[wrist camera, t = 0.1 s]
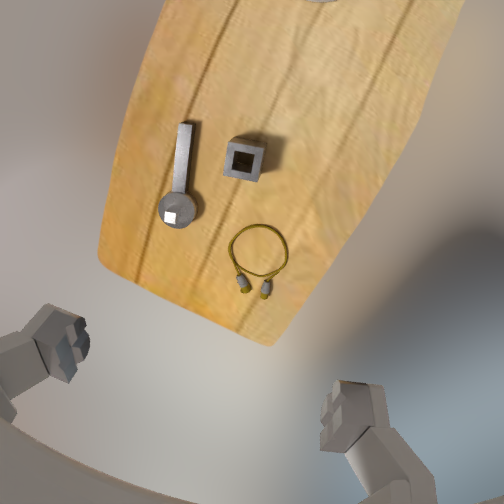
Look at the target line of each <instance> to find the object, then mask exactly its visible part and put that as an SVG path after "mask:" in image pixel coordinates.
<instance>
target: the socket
mask: <svg viewBox="0 0 504 504" xmlns="http://www.w3.org/2000/svg"><path fill="white" fill-rule="evenodd" d="M266 146H267V143H264V142H259V141H254V140H249V139H244V138H238V137H233V138H232V139H231V140H230V141H229V142H228V146H227V153H226V159H225V165H224V172H223V175H224V176H229V177H234V178H239V179H244V180H249V181H253V182H258V180H259V177H260V175H261V171H262V166H263V161H264V156H265V151H266ZM239 151H240V152H245V153H250V154H255V156H254V162H253V165H248V164H243V163H238V162H237V160H238V154H239Z"/></svg>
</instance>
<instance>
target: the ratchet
mask: <svg viewBox="0 0 504 504" xmlns="http://www.w3.org/2000/svg"><path fill="white" fill-rule="evenodd" d="M195 127H196V124H194V123H187V122H181V123H179V127H178V135H177V144H176V154H175V164H174V174H173V186H172V190H171V191H170V192H168V193H167V194H166V195H165V196H164V197H163V198H162V199H161V201H160V203H159V207H158V211H159V215H160V217H161V219H162V220H163V222H164V223H165V224H167V225H168V226H170V227H172V228H176V229H180V228H185V227H187V226H188V225H189V224H190V223H191V222H192V221H193V219H194V218H195V216H196V215H197V212H198V204H197V201H196V199H195V197H194V196H193V195H192V194H191V193H190V192H188V185H189V176H190V167H191V158H192V150H193V142H194V134H195Z"/></svg>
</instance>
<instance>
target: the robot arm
mask: <svg viewBox="0 0 504 504" xmlns="http://www.w3.org/2000/svg"><path fill="white" fill-rule="evenodd" d="M308 1H313V2H331V1H336V0H308ZM86 326H87V325H86V321H85V318H83V317H81V316H78V315H75V314H73V313H70V312H68V311H66V310H63V309H61V308H59V307H56V306H54V305H51V304H49V303H48V304H46V305H44V306H43V307H42V308H41V309H40V310H39V311H38V312H37V313H36V315H35V316H34V317H33V318H32V319H31V320H30V321H29V323H28V324H27V325H26V326H25V327H24V329H22V331H21V332H18V331H16V332H13V333H11V334H8V335H6V336H3V337H1V338H0V504H197V503H193V502H189V501H185V500H181V499H178V498H174V497H171V496H167V495H164V494H161V493H157V492H154V491H151V490H148V489H145V488H142V487H139V486H136V485H133V484H131V483H128V482H125V481H123V480H120V479H118V478H115V477H113V476H110V475H108V474H105V473H103V472H100V471H98V470H96V469H94V468H91V467H89V466H87V465H85V464H83V463H80V462H78V461H76V460H74V459H72V458H70V457H68V456H66V455H64V454H62V453H60V452H58V451H56V450H54V449H53V448H51V447H49V446H47V445H45V444H43V443H42V442H40V441H38V440H36V439H35V438H33V437H31V436H30V435H28V434H26V433H25V432H23V431H21V430H20V429H18V428H17V427H15V426H14V425H12V424H11V423H12V421H13V420H14V418H15V416H16V414H17V410H16V408H15V407H14V405H13V404H12V402H11V401H10V400H11V399H13V398H15V397H16V396H18V395H20V394H21V393H23V392H24V391H26V390H28V389H29V388H31V387H33V386H34V385H36V384H38V383H39V382H41V381H43V380H44V379H46V378H48V377H49V375H50V376H52V377H54V378H57V379H59V380H61V381H63V382H66V383H68V384H69V383H70V381H71V379H72V378H73V376H74V375H75V373H76V372H77V370H78V369H77V363H80V362H82V361H84V359H85V358H86V356H87V354H88V351H89V348H90V338H89V335H88V333H87V332H86V331H85V330H84V329H85V327H86ZM321 423H322V424H323V426H324V429H323V430H322V432H321V433H320V451H327V452H337V453H345V456H346V458H347V459H348V461H349V463H350V465H351V466H352V468H353V470H354V472H355V474H356V475H357V477H358V479H359V480H360V482H361V484H362V485H363V487H364V489H365V491H366V492H367V494H368V496H369V497H368V498H366V499H364V500H363V501H361V502H360V503H358V504H437V496H436V488H435V480H434V476H433V475H432V474H431V473H430V471H429V470H428V469H427V467H426V466H425V465H424V464H423V463H422V461H421V460H420V459H419V458H418V456H417V455H416V454H415V453H414V452H413V450H412V449H411V448H410V447H409V445H408V444H407V443H406V442H405V441H404V439H403V438H402V437H401V436H400V434H399V433H398V432H397V431H396V430H395V428H390V424H389V416H388V410H387V404H386V398H385V392H384V388H383V386H382V385H376V384H366V383H360V382H351V381H343V380H337V381H336V382H335V383H334V384H333V386H332V393H330V394H328V395H327V396H326V398H325V400H324V402H323V405H322V409H321ZM476 504H504V495H503V496H500V497H497V498H493V499H490V500H487V501H483V502H480V503H476Z"/></svg>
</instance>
